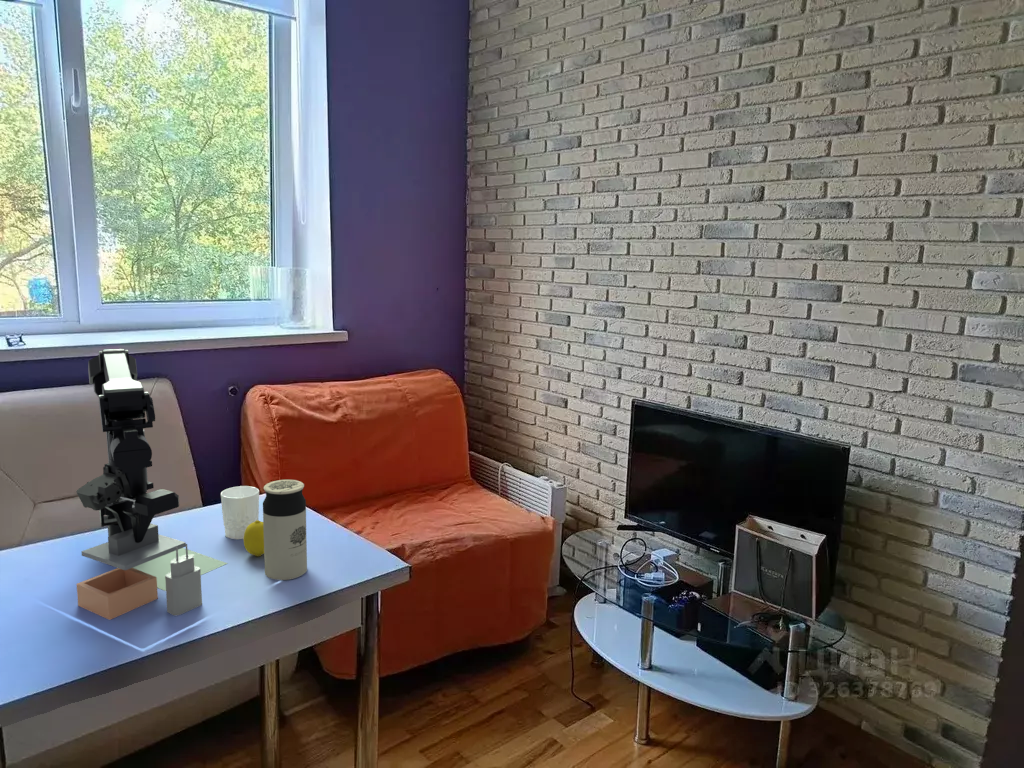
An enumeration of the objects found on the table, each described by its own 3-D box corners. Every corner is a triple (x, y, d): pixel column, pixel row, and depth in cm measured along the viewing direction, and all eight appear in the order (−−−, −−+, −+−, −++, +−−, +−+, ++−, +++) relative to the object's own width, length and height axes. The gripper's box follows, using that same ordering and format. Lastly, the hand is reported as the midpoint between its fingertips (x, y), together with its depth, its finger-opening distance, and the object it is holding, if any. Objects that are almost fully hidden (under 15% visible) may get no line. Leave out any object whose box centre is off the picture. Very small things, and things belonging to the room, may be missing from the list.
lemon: (263, 564, 146) (262, 526, 144) (238, 560, 147) (237, 523, 146) (277, 553, 151) (276, 517, 150) (253, 550, 152) (252, 514, 151)
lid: (81, 555, 128) (80, 535, 127) (143, 533, 138) (142, 514, 138) (125, 570, 123) (123, 549, 122) (185, 546, 133) (184, 526, 132)
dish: (78, 607, 126) (76, 583, 126) (126, 587, 134) (125, 565, 133) (109, 621, 122) (107, 597, 121) (157, 600, 130) (156, 577, 129)
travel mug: (257, 571, 142) (254, 484, 139) (293, 560, 148) (291, 476, 145) (278, 585, 137) (275, 495, 134) (314, 572, 143) (313, 486, 140)
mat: (118, 574, 139) (118, 572, 139) (182, 549, 152) (182, 547, 151) (165, 592, 133) (164, 590, 133) (227, 565, 145) (227, 563, 145)
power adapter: (204, 605, 129) (201, 542, 126) (176, 618, 124) (172, 553, 122) (193, 601, 130) (189, 538, 128) (165, 613, 126) (161, 548, 123)
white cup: (252, 542, 156) (251, 498, 154) (216, 541, 156) (214, 497, 154) (265, 528, 164) (264, 486, 162) (230, 527, 164) (229, 485, 162)
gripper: (49, 459, 125) (57, 545, 127) (118, 477, 116) (125, 568, 119) (111, 445, 134) (116, 525, 137) (178, 460, 126) (183, 545, 129)
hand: (133, 540), depth 130 cm, fingers closed on lid, 2 cm apart
